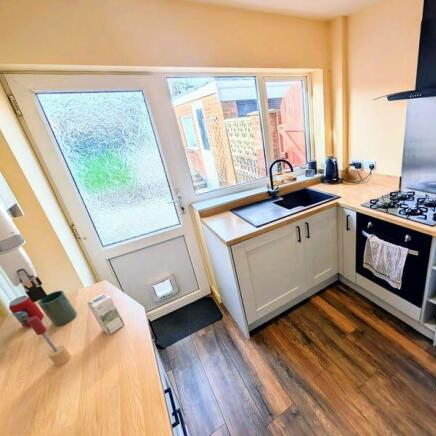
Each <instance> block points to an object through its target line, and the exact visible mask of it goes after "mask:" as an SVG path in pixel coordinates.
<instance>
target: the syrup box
mask: <svg viewBox="0 0 436 436" xmlns="http://www.w3.org/2000/svg"><path fill="white" fill-rule="evenodd" d="M87 306H88V307H89V309H90V311H91V313H92V314H93V316H94V317H95V319H96V321H97V323H98V325H99V326H100V328H101V330H102V331H103V332H105V333H106V334H108V336H111V335H113V334H114V333H115V332H117V331H118V330H120V329H121V328H122V327H123V326H125V322H124V320H123V319H122V316H121V314H120V312H119V311H118V309H117V307H116V305H115V303H114V301H113V299H112V297H110V296H108V295H107V294H105V293H102V294H100V295H98V296H96V297H94V298H93V299H91V300H90V301H88V302H87Z"/></svg>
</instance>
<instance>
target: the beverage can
mask: <svg viewBox="0 0 436 436" xmlns="http://www.w3.org/2000/svg"><path fill="white" fill-rule="evenodd" d="M8 309H9V311H10V312H11V314H12V315H13V316H14V317H15V318H16V320H17V321H18V322H19V323H20V324H21V326H22V327H24V328H28V327H31V326H30V325H29V323H28V322H27V320H28V319H29V318H31V317H33V316H37V317H38V318H39V319H40V321H41V322H42V319H43V318H44V316H45V315H44V313H43V312H42V310H41V309H40V307H39V306H38V305H37V304H36V302H32V301H31V299H30V298H29V297H28V295H22V296H19V297H16V298H15V299H13V300H11V301H10V302H9V306H8Z"/></svg>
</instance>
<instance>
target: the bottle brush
mask: <svg viewBox="0 0 436 436" xmlns="http://www.w3.org/2000/svg"><path fill="white" fill-rule="evenodd" d="M27 322H28V323H29V325H30V326H29V327H31V329H32V331H34V332H35V334H36V335H37V336H41V335H42V337H43V338H44V339H45V341H46V342H47V344H48V345H49V346H50V348H51V350H50V351H49V352H48V354H47V357H48V358H49V359H50V360H51V361H52V363H53V364H54V366H56V367H61V366H64V365H66V364H67V363H68V362H69V361H70V360H71V359H72V354H71V353H70V352H69V350H68V348H67V347H66V346H65V345H64V344H59V345H57V346H56V345H55V344H54V343H53V342H52V340H51V339H50V337H49V336H48V334H47V333H46V332H47V331H48V329H47V327H46V326H45V325H44V323H43V322H42V320H41V321H40V319H39V318H38V317H37V316H33V317H31V318H29V319H28V320H27Z"/></svg>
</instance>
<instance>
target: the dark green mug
mask: <svg viewBox="0 0 436 436" xmlns="http://www.w3.org/2000/svg"><path fill="white" fill-rule="evenodd" d="M37 304H38V305H39V308H41V309H42V311H43V312H44V314H45V315H46V316H47V318H48V319H49V321H50V322H51V324H52V325H53V326H54V327H62V326H64V325H65V326H66V325H67V324H69V323H70V322H72V321H74V319H75V318H76V317H77V316H78V312H77V310H76V309H75V307H74V305H73V304H72V302H71V301H70V299H69V298H68V296H67V295H66V293H65V291H63V290H56V291H52V292H50V293H48V294H47V297H45V298H43V299H41V300H39V301H38V303H37Z"/></svg>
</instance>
